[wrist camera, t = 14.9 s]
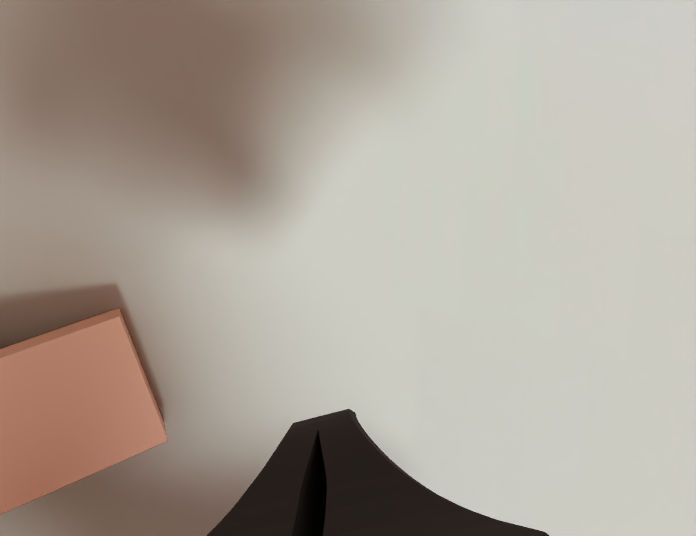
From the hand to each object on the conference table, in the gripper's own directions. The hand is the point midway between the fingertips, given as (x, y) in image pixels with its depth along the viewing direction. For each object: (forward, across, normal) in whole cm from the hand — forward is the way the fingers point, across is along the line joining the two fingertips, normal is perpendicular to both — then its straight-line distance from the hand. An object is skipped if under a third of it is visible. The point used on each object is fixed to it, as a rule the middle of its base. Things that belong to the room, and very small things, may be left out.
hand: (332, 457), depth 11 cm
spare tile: (+9, +7, 0) cm, 11 cm away
